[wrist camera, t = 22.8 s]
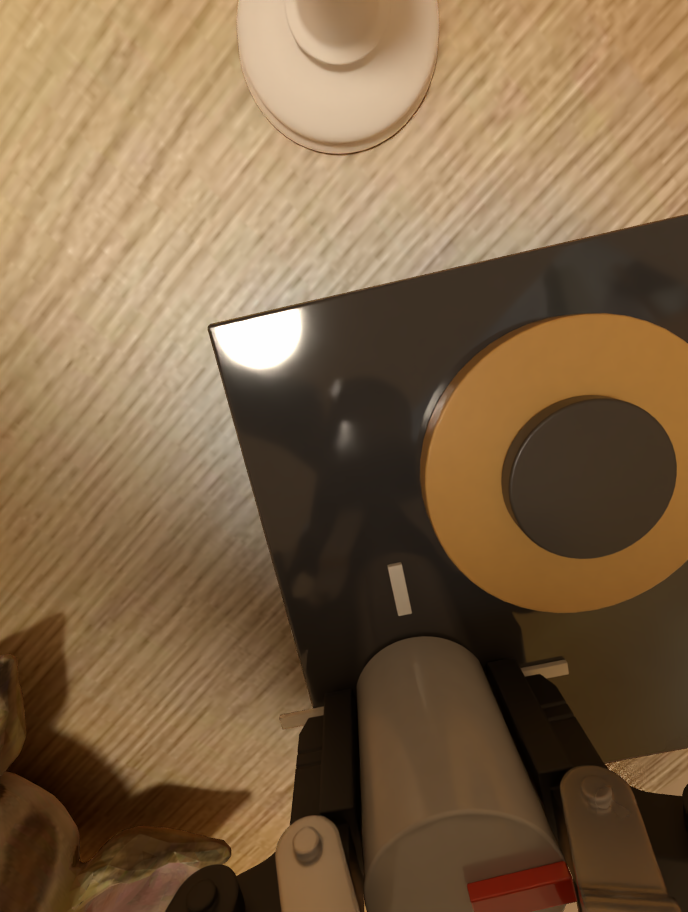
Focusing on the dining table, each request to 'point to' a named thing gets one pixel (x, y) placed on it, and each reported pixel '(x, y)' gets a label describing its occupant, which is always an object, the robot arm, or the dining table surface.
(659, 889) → the robot arm
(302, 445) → the hob
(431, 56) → the chess piece
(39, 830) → the chihuahua dog toy
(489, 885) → the burner knob
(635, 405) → the cap
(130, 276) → the dining table surface
